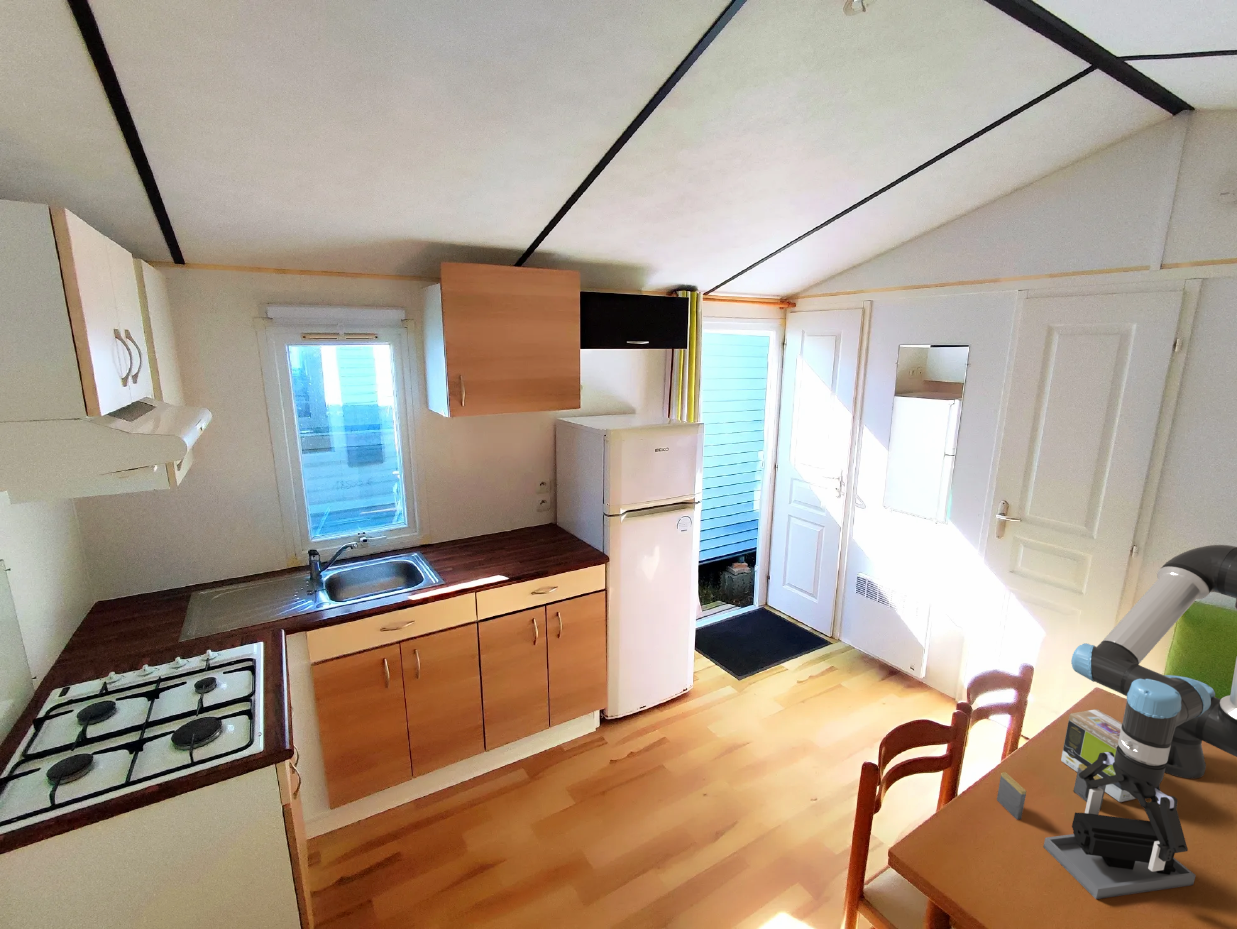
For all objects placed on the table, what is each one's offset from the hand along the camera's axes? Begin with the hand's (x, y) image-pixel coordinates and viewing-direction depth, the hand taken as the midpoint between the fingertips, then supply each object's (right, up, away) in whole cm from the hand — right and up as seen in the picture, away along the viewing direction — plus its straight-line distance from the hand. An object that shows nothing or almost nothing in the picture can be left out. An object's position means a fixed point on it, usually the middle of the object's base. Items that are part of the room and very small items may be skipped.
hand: (1121, 840), depth 120 cm
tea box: (+18, -1, +26) cm, 32 cm away
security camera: (+1, -6, +1) cm, 6 cm away
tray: (0, -6, +1) cm, 6 cm away
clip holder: (-2, -3, +17) cm, 18 cm away
